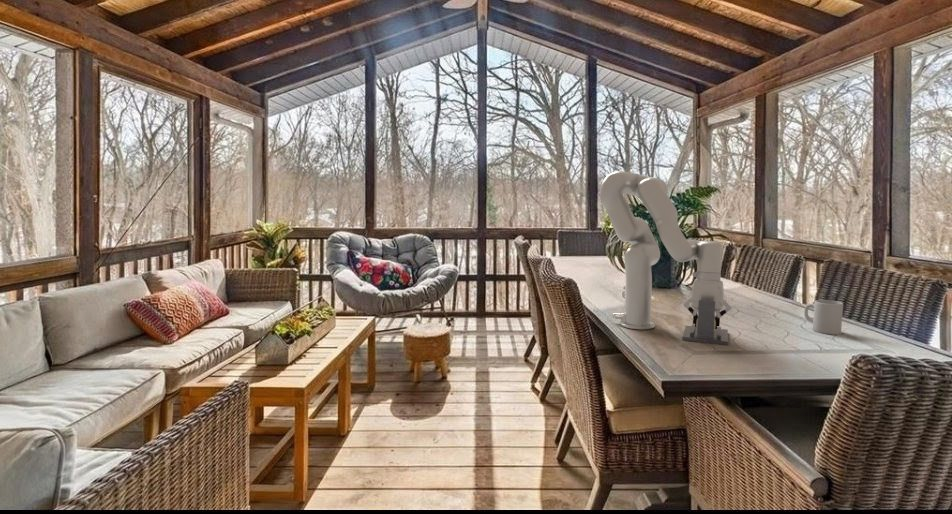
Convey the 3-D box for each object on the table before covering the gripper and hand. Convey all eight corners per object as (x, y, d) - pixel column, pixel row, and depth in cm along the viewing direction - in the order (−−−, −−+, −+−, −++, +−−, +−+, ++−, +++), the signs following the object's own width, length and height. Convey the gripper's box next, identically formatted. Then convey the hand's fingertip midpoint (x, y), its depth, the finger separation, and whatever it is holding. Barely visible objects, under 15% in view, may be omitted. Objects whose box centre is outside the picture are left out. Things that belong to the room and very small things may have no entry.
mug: (845, 332, 180) (847, 302, 178) (834, 336, 175) (836, 305, 174) (809, 325, 190) (811, 297, 188) (797, 328, 185) (799, 299, 184)
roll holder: (682, 340, 171) (684, 299, 169) (685, 328, 186) (687, 291, 184) (728, 345, 164) (730, 303, 163) (727, 332, 180) (729, 294, 178)
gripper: (681, 276, 173) (678, 326, 175) (736, 279, 166) (733, 332, 168) (682, 273, 180) (680, 322, 182) (736, 276, 172) (733, 327, 174)
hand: (706, 326), depth 175 cm, fingers closed on paper roll, 5 cm apart
